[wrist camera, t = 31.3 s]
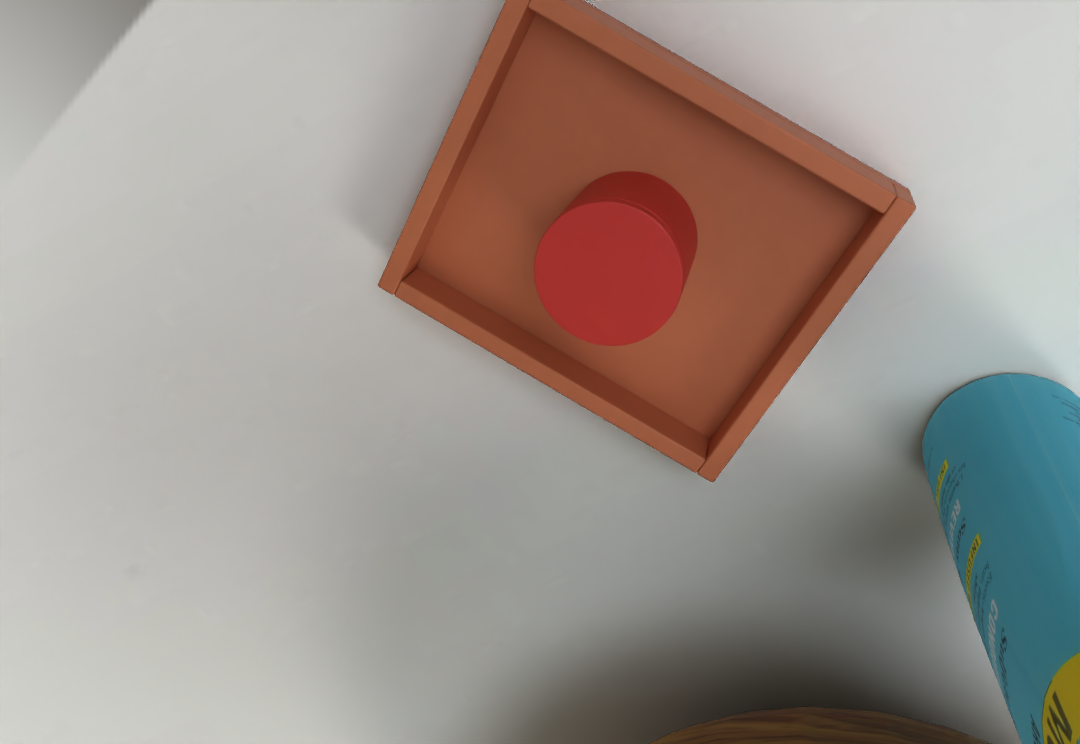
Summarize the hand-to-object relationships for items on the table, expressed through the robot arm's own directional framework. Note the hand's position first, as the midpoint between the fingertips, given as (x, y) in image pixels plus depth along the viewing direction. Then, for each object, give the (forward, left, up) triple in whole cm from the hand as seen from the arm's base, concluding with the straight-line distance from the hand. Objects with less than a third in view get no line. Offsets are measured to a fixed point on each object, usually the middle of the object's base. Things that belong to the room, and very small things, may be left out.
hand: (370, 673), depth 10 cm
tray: (0, -1, -21) cm, 21 cm away
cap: (0, -1, -21) cm, 21 cm away
